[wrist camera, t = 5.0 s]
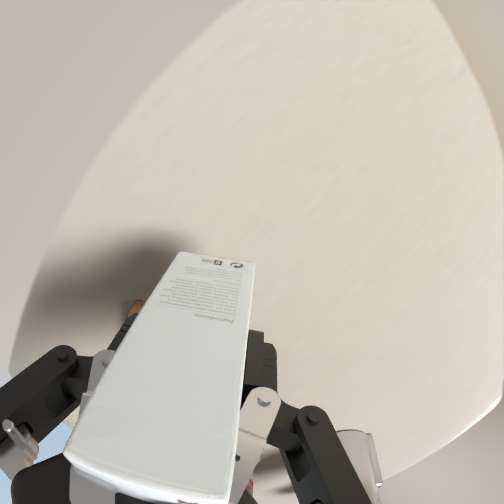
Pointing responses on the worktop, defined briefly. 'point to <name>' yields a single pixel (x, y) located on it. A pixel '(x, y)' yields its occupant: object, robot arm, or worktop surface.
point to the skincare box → (173, 389)
